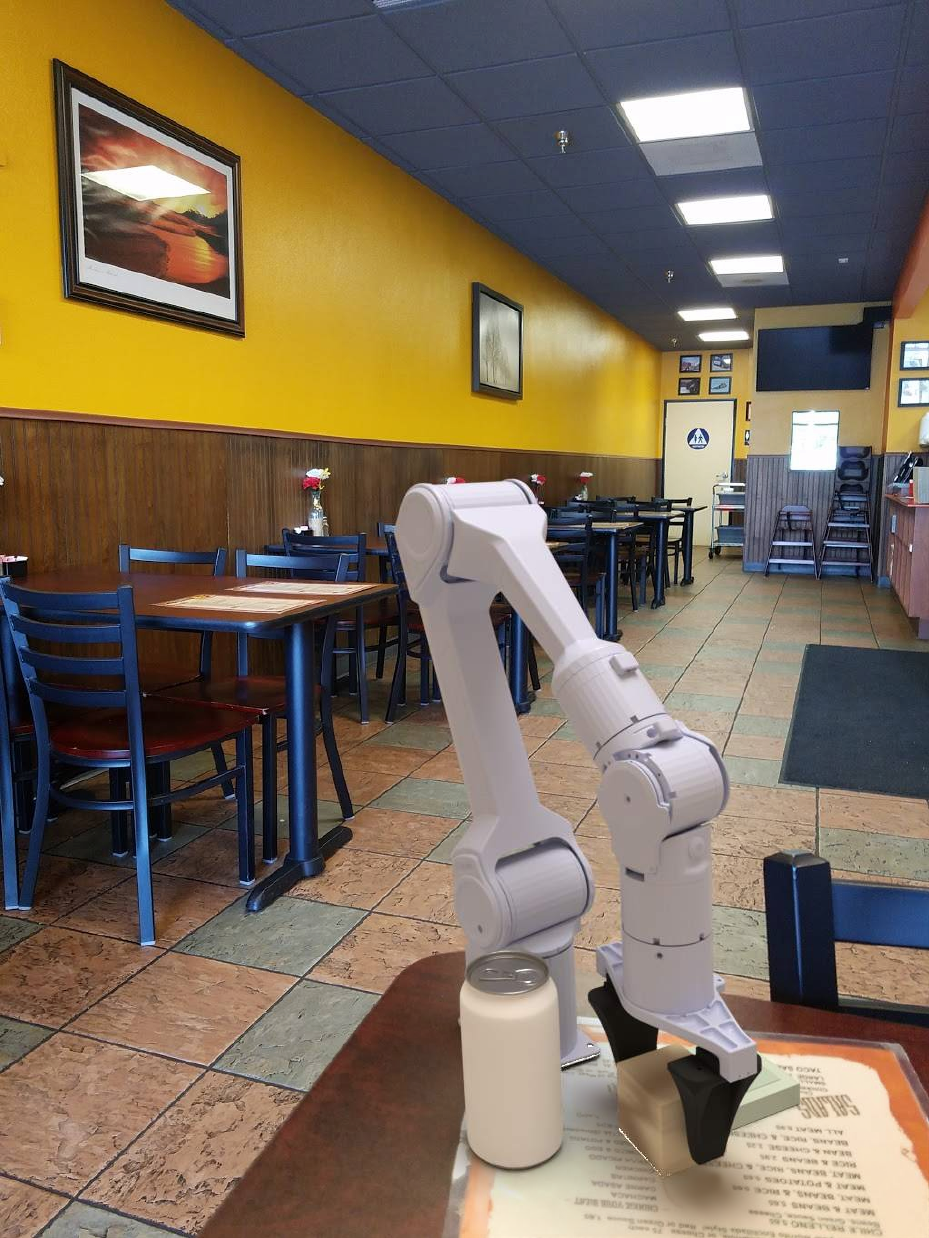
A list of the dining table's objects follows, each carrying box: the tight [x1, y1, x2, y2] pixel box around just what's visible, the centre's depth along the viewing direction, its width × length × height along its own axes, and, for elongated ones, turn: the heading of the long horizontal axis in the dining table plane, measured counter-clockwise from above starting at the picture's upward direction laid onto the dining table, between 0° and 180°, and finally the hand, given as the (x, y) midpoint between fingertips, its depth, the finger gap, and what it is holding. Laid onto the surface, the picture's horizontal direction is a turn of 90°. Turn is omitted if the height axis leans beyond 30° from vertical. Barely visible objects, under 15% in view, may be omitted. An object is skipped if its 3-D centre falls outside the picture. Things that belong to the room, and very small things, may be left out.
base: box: [685, 1044, 801, 1131], centre depth 68 cm, size 7×7×2 cm
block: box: [616, 1042, 728, 1178], centre depth 62 cm, size 5×5×5 cm
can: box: [459, 950, 564, 1171], centre depth 63 cm, size 6×6×12 cm
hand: (671, 1121), depth 63 cm, fingers open, 7 cm apart
